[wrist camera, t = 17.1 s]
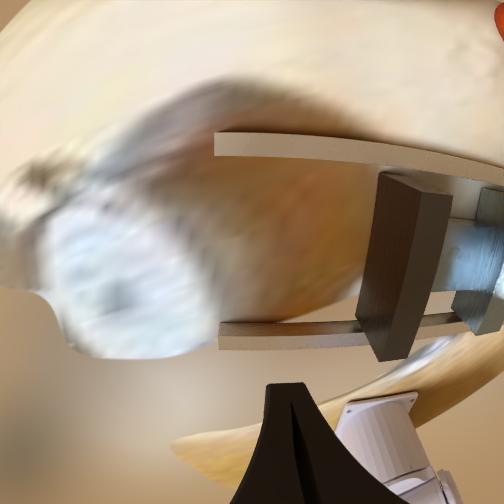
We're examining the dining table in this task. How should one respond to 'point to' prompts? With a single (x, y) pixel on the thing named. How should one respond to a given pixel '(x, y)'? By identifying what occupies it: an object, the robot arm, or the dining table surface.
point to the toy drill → (500, 19)
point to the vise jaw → (429, 263)
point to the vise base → (350, 151)
